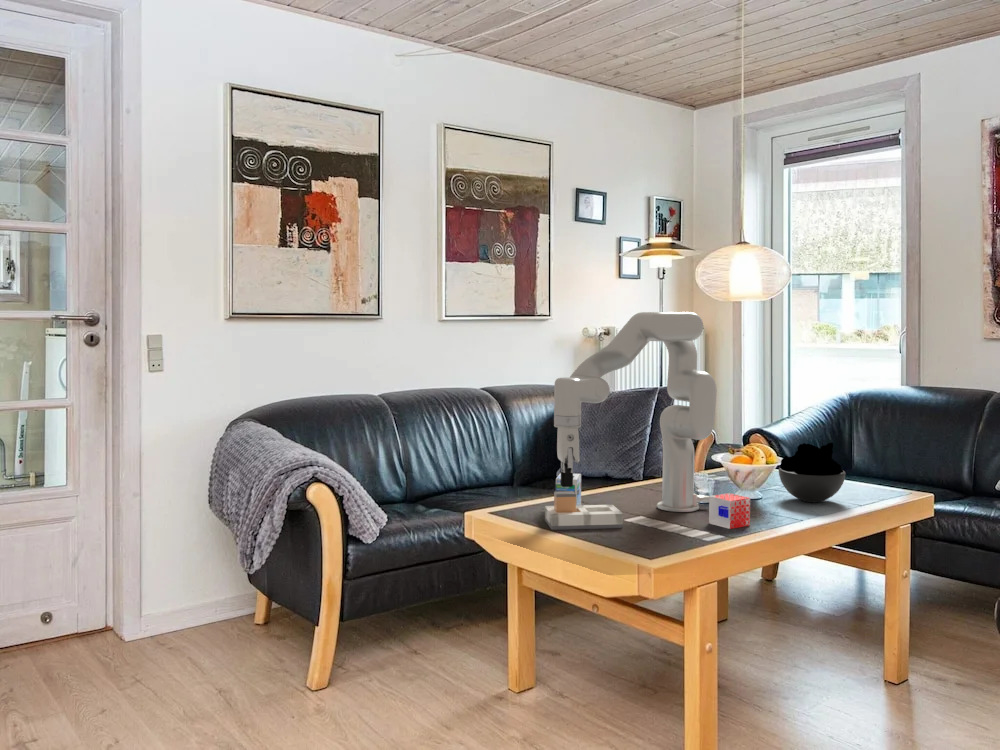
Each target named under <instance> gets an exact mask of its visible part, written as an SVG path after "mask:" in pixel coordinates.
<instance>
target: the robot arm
mask: <svg viewBox="0 0 1000 750" xmlns="http://www.w3.org/2000/svg"><path fill="white" fill-rule="evenodd" d="M703 330H704V322H703V319H702V318H701V316H700V315H698V314H697V313H695V312H692V311H690V312H689V311H686V312H685V311H682V312H681V311H680V312H677V311H675V312H674V311H667V312H666V311H665V312H664V311H663V312H661V311H643V312H642V311H641V312H637V313H635V314H633V316H631V317H630V318H629V320H628V321H627V322H626V323H625V325H623V327H622V328H621V329H620V330H619V331H618V333H616V335H615V336H614V337H613V338H612V339H611V341H610V342H609V343H608V344H607V345H605V346H604V347H602V348H600V349H599V350H598V351H596V352H595V353H594V354H592V355H590V356H589V357H587V358H586V359H584V361H583V362H582V363H580V364H579V365H578V366H577V367H576V369H575V370H574V371H573V372H572V373H571V375H570V376H569V377H558V378H556V379H555V381H554V390H553V391H554V394H553V395H554V397H553V398H554V400H553V401H554V404H553V412H554V413H553V426H554V428H557V431H556V433H557V438H556V441H557V442H556V452H557V453H556V454H557V459H558V460H559V461H560V470H561V471H560V473H561V486H562V487H572V486H573V474H574V462H575V463H576V464H579V463H580V461H581V459H580V436H579V433H580V432H579V428H581V427H582V403H589V404H600V403H602V402H604V401H605V400H606V399H608V397H609V396H610V392H611V390H610V385H609V383H608V382H607V381H606V380H605V379H604V378H602V377H603V376H604V375H606V374H609V373H611V372H614V371H617V370H620V369H623V368H626V367H627V366H629V365H631V364H632V363H633V362H634V360H635V359H636V357H638V355H639V354H640V353H641V351H643V350H644V349H645V347H646V346H647V345H648V343H650V342H663V343H664V346H665V347H666V349H667V354H668V368H667V380H666V381H667V382H666V391H667V394H668V396H669V397H670V398H671V399H673V400H675V401H681V402H689V403H688V404H689V406H688V405H681V404H680V405H679V404H673V405H669V406H667V407H665V408H664V409H663V411H662V412H661V414H660V417H659V427H660V434H661V438H662V440H661V441H662V482H661V483H662V488H661V489H662V492H661V493H662V496H661V501H659V502H657V504H656V507H657V509H659V510H662V511H667V512H672V513H673V512H674V513H688V512H689V513H690V512H695V511H698V510H699V509H700V505H699V504H700V503H709V495H702V494H699V495H698V494H696V493H695V447H694V443H693V440H697V441H703V440H705V439H707V438H708V437H710V436H711V434H712V432H713V430H714V426H715V420H716V418H715V417H716V409H717V408H716V406H717V384H716V381H715V378H714V377H713V376H712V375H711V374H710V373H708V372H706V371H704V370H698V351H697V348H696V345H695V342H694V341H695V340H697V339H698V338H699V337H701V335H702V333H703Z"/></svg>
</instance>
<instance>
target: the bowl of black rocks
mask: <svg viewBox="0 0 1000 750" xmlns="http://www.w3.org/2000/svg"><path fill="white" fill-rule="evenodd" d="M796 447H797V448H796V449H797V451H795V453H794V455H792V456H788V455H785V456H784V457H783V458H782V459H781V460H780V466H779V468H778V475H779V480H780V483H781V484H782V486H783V488H784V489H785V490H786V491H787V492H788V493H789V494H790V495H791V496H793V497H794V498H796V499H798V500H801V501H803V502H808V503H818V502H823V501H826V500H828V499H831V498H833V496H835V495H836V494H837V493H838V492H839V491H840V489H841V488H842V487H843V485H844V481H845V478H846V471H845V470H843V468H842V465H841V464H839V463H838V462H837V461H835V459H833V457H832V456H833V453H834V452H833V451H834V450H833V449H834V442H827V444H825V445H821V446H820V448H819V447H818V446H816V445H813V444H810V443H805V442H804V443H800V444H799V445H798V446H796Z"/></svg>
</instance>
